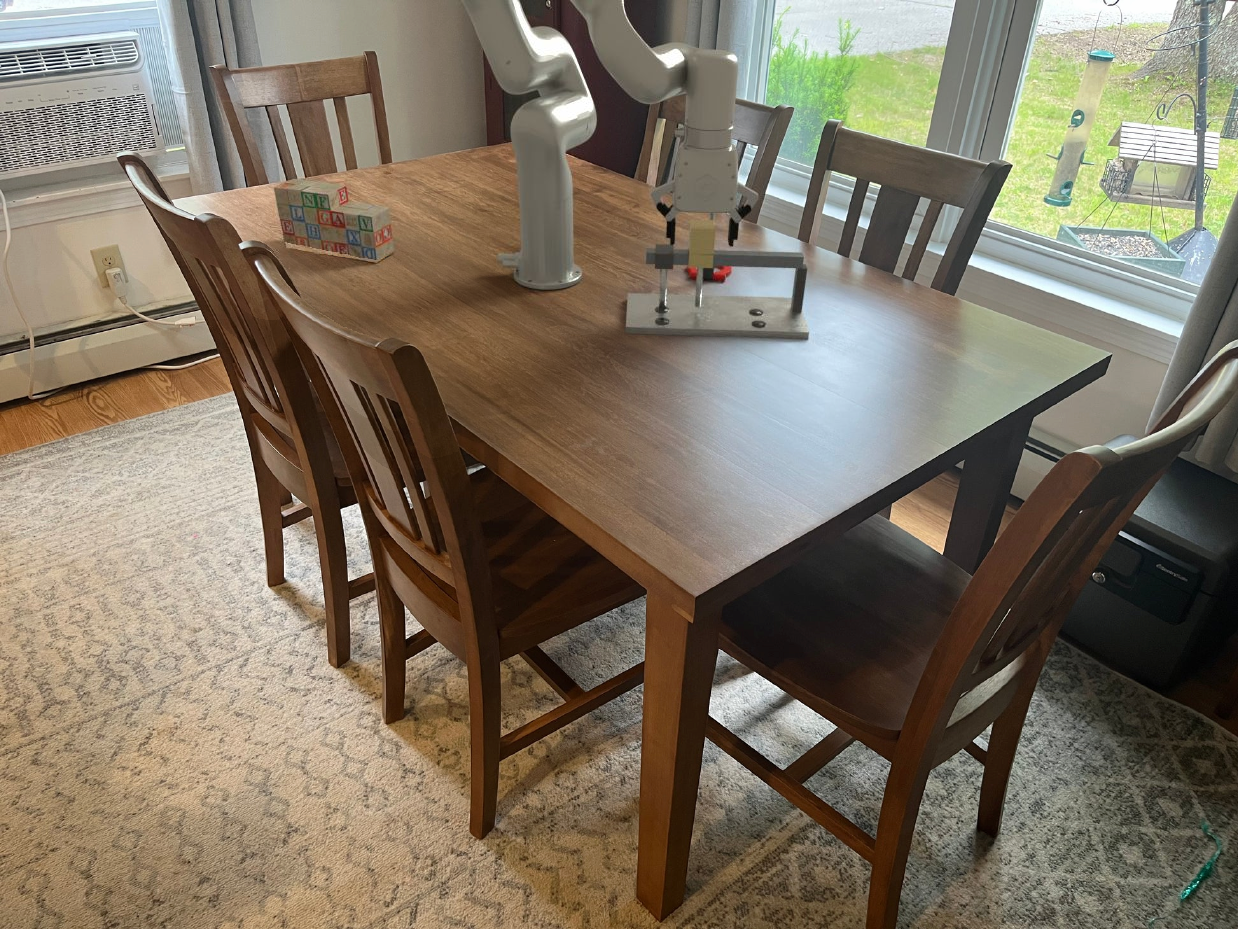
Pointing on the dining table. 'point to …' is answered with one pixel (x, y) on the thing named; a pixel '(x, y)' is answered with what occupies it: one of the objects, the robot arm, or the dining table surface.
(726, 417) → the dining table surface
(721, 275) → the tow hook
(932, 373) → the dining table surface
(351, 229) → the stack of blocks
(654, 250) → the beam
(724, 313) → the hole plate
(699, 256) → the carriage
